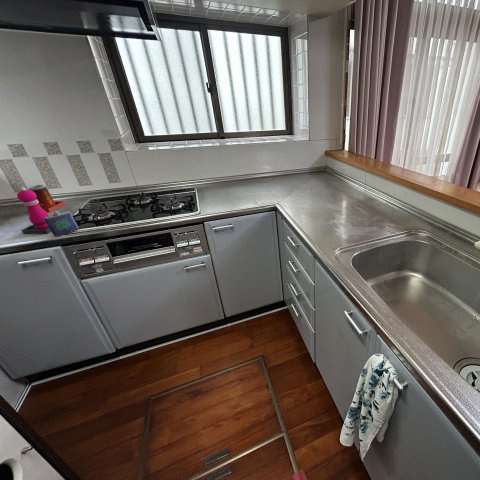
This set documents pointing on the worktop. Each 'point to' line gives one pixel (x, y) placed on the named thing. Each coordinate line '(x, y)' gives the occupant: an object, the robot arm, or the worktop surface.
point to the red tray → (57, 205)
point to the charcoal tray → (35, 230)
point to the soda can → (43, 196)
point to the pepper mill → (33, 208)
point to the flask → (61, 223)
